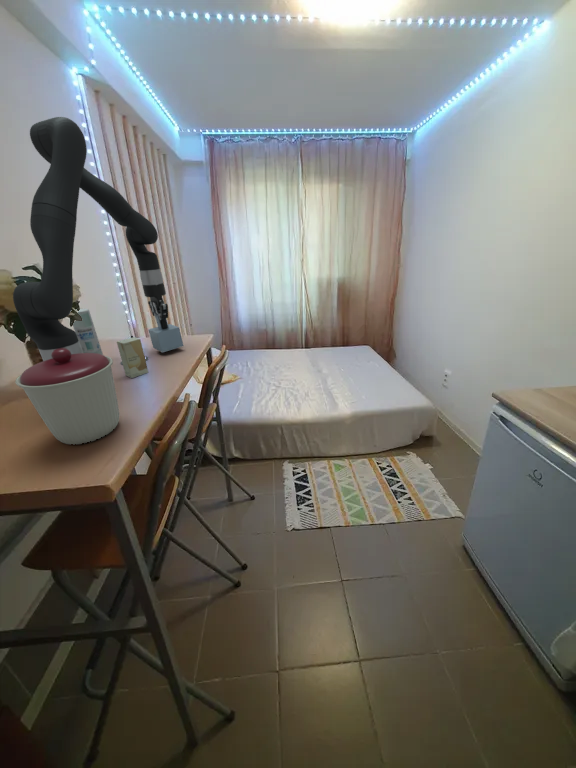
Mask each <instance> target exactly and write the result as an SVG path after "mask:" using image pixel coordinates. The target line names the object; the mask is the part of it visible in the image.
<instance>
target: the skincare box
mask: <svg viewBox="0 0 576 768" xmlns="http://www.w3.org/2000/svg"><path fill="white" fill-rule="evenodd" d="M116 344H117V348H118V352H119V356H120V359H121V361H122V363H123V365H122V366H123V370H124V373H125V377H129V378H130V379H134V378H137V377H138V376H142V375H145V374H148V373H149V369H148V365H147V361H146V360H145V356H146V355H145V353H144V348H143V344H142V340H141V338H139V337H134V336H133V337H130V338H129V337H128V338H125V339H122V340H119V341H116Z"/></svg>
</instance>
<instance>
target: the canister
mask: <svg viewBox="0 0 576 768" xmlns="http://www.w3.org/2000/svg"><path fill="white" fill-rule="evenodd" d="M51 357H52V359H49V360H46V361H43V360H42V361H40V362H38V363H35V364H34V365H31V366H30V367H28V368H27V369H25V370H24V371H23V372H22V373H21V374H20V375H19V376H18V377H17V378H16V379H15V381H14V382H15V384H16V386H18V387H19V388H21V389H23V391H24V392H25V394H26V396H27V398H28V399H29V400H30V402H31V404H32V406H33V407H34V408H35V410H36V412H37V413H38V415H39V416H40V418H41V419H42V420H43V423H44V424H45V425H46V427H47V429H48V431H50V433H51V434H52V435H53V437H54V438H55V439H56V440H57V441H58V442H61V443H63V444H66V445H71V444H73V445H75V444H76V445H83V444H82V443H84V444H87V442H89V443H91V442H94V441H97V440H96V439H98V440H99V439H102V438H104V437H105V435H106V436H107V435H109V434H110V433H111V432H113V429H114V430H115V429H116V427H117V426H118V424H119V420H120V410H119V403H118V397H117V390H116V386H115V381H114V380H115V379H114V374H113V369H112V365H113V362H114V361H113V358H112V357H111V356H108V355H104V354H103V355H101V354H97V353H78V354H71V352H70V351H69V350H68V349H66V348H59V349H56V350H54V351H53V352H52V354H51ZM101 437H102V438H101ZM90 441H91V442H90Z"/></svg>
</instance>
